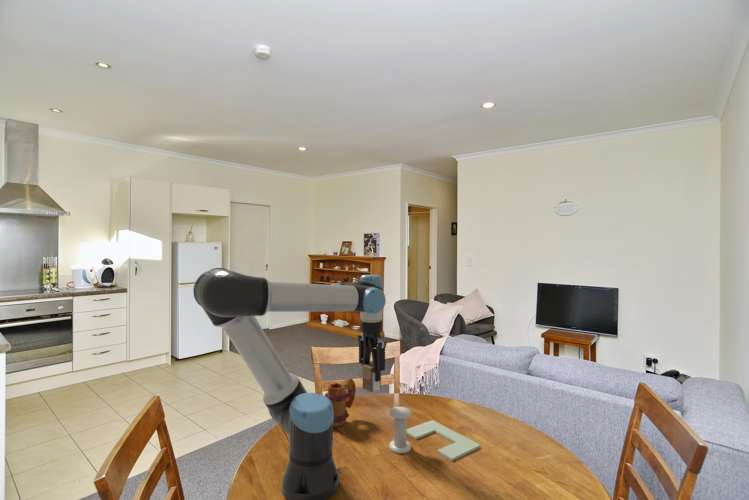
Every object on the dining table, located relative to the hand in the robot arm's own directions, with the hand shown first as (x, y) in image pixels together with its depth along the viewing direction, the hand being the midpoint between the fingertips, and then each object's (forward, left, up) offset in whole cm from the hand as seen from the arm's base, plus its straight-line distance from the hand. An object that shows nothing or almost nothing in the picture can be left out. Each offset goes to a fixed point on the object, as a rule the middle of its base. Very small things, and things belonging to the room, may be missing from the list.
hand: (371, 387), depth 129 cm
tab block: (0, 0, 0) cm, 0 cm away
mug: (-2, +16, -17) cm, 24 cm away
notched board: (+19, -15, -17) cm, 30 cm away
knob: (+4, -11, -17) cm, 21 cm away
